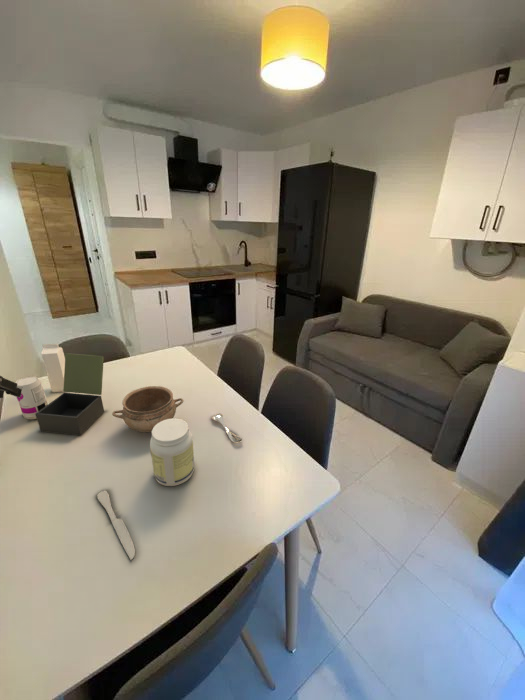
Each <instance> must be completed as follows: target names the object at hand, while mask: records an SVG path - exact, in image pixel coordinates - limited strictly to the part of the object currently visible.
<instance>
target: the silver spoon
mask: <svg viewBox="0 0 525 700" xmlns="http://www.w3.org/2000/svg"><path fill="white" fill-rule="evenodd" d="M210 418H211V419H212V420H214V421H216V422H218V423H220V424H221V425H222V426H223V428H224V429H225V432H226V434H227V436H228V438H229V440H231V442H233V443H242V441H243V438H242V437H241V436H239V435H236V434H234V433H233V432H232V431H230V429H229V428H228V427H227V425H226V423H225V415H224V414H222V413H221V412H219V413H216V414H213V415H212V416H211V417H210Z"/></svg>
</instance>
